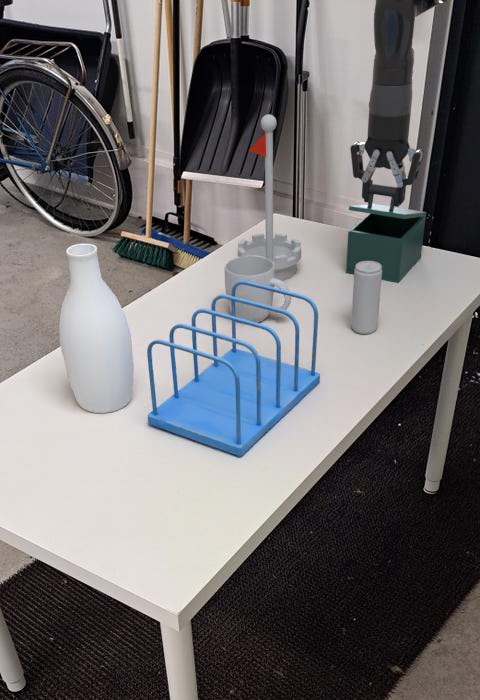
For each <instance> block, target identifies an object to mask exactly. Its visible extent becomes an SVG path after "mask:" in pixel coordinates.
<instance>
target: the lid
mask: <svg viewBox="0 0 480 700" xmlns="http://www.w3.org/2000/svg"><path fill="white" fill-rule="evenodd" d="M396 187H397V186H390V185H383V184H376V183H373V184H370V186H369V190H368V192H369V200H368V202H367V204H357V205H349V206H348V211H351V212H358V213H364V214H368V213H370V214H376V215H382V216H388V217H395V218H401V219H408V218H415V217H423V216H425V217H426V216H427V212H426V211H423V210H415V209H410V208H409V209H408V208H401V207H395V206H394V204H395V192H396ZM375 195H377V196H383V197H389V198H390V203H389V206H388V205H383V204H382V205H381V204H377V203H373V202H374V196H375Z"/></svg>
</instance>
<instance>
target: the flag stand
mask: <svg viewBox="0 0 480 700" xmlns="http://www.w3.org/2000/svg"><path fill="white" fill-rule="evenodd" d="M260 127H261V129H262V130H263V134H262V136H260V137H259V139H257V141H256V142H255V143H254V144H253V145H252V146H251V147H250V148H249V149H248V151H249V152H251V153H253V154H255V155H259V156H261V157H264V199H265V200H264V201H265V202H264V206H265V208H264V209H265V213H264V215H265V218H264V219H265V233H263V232H262V233H257V234H252V235H251V240H250V241H248V239H246V238H242V239H241V240H240V241H238V242H237V252H236V253H237V257H241V256H260V257H264V258H267V259H269V260H271V261H272V262H273V264H274V274H275V279H279V280H281V281H285V280H288V279H291V278H292V277H293V276H295V274H296V273H297V264H298V263H299V262H300V261H301V259H302V242H301V240H299V239H298V238H297V237H294V238H291V240H289V239H288V234H285V233H278V232H275V233H274V130H275V129H276V128H277V119H276V117H275V116H274V115H272V114H271V113H269V114H265V115H264V116H263V117H262V118H261V119H260Z"/></svg>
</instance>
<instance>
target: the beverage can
mask: <svg viewBox="0 0 480 700" xmlns="http://www.w3.org/2000/svg"><path fill="white" fill-rule="evenodd" d="M355 267H356V268H355V270H354V274H353V288H352V301H351V302H352V303H351V321H350V327H351V329H352V330H353V332H355V333H356V334H360V335H369V334H370V335H371V334H372V333H373V332H375V331H376V330H377V328H378V324H379V312H380V301H381V292H382V291H381V289H382V281H383V280H382V269H381V268H382V266H381V264H380V263H378V262H374V261H362V262H359V263H357V264H356V266H355Z"/></svg>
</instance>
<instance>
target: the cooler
mask: <svg viewBox="0 0 480 700" xmlns="http://www.w3.org/2000/svg"><path fill="white" fill-rule="evenodd" d="M426 219H427V218H426V216H423V217H415V218H408V219H401V218H395V217H388V216H382V215H376V214H370V213H365V215H364V216H363V217H362V218H361V219H360V220H359V221H358V222H356V223H355V224H354V225H353V226H352V227H351V228H350V229H349V230H348V231H347V244H346V245H347V246H346V265H345V273H346V274H350V275H354V270H355V268H356V267H355V266H356V264H357V263H359V262H362V261H374V262H378V263H380V264H381V266H382V268H381V269H382V280H381V281H386V282H393V283H397V284H399V283H400V282H401V281H402V280H403V279H404V278H405V277H406V275H407V274H408V273H409V272H410V271H411V270H412V269H413V267H415V265H416V264H417V263H418V262H419V261H420V259H421V258H422V253H423V252H422V251H423V244H424V235H425V225H426Z"/></svg>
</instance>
